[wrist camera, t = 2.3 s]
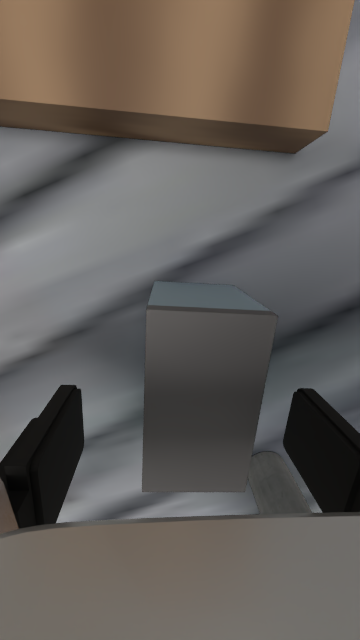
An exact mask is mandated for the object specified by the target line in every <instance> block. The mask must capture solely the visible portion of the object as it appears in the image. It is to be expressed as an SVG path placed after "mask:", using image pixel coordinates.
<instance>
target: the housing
mask: <svg viewBox="0 0 360 640" xmlns="http://www.w3.org/2000/svg"><path fill="white" fill-rule="evenodd" d="M277 319H278V316H277V315H276V314H275V313H273V312H272V311H270V310H269V309H267V308H266V307H264V306H263V305H261V304H260V303H258V302H257V301H256V300H254V299H253V298H251V297H250V296H248V295H247V294H245V293H244V292H242V291H241V290H239V289H238V288H237V287H235V286H234V285H220V284H202V283H183V282H165V281H155V282H154V285H153V289H152V292H151V295H150V299H149V302H148V306H147V309H146V343H145V385H144V427H143V469H142V492H245V489H246V484H247V479H248V473H249V468H250V463H251V457H252V452H253V447H254V441H255V436H256V431H257V425H258V420H259V415H260V409H261V404H262V399H263V393H264V388H265V383H266V377H267V372H268V367H269V361H270V356H271V351H272V345H273V340H274V335H275V329H276V324H277Z"/></svg>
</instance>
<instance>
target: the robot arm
mask: <svg viewBox="0 0 360 640" xmlns="http://www.w3.org/2000/svg"><path fill="white" fill-rule="evenodd" d="M283 445H284V448H285V450H286V452H287V453H288V455H289V457H290V458H291V460H292V462H293V463H294V465H295V467H296V468H297V470H298V472H299V473H300V475H301V477H302V478H303V480H304V482H305V483H306V485H307V487H308V488H309V490H310V492H311V493H312V495H313V497H314V498H315V500H316V502H317V503H318V505H319V507H320V508H321V510H322V512H323V513H291V514H256V515H224V516H193V517H167V518H141V519H115V520H98V521H80V522H64V523H56V521H57V518H58V516H59V513H60V510H61V508H62V505H63V502H64V499H65V497H66V494H67V491H68V489H69V486H70V483H71V481H72V478H73V475H74V473H75V470H76V467H77V464H78V462H79V459H80V456H81V454H82V451H83V447H84V430H83V413H82V396H81V389H77V387H76V385H61V386H60V387H59V388H58V390H57V391H56V393H55V394H54V395H53V397H52V398H51V400H50V401H49V403H48V404H47V406H46V407H45V408H44V410H43V411H42V413H41V414H40V416H39V417H38V418H34V419H32V420H31V421H30V422H29V424H28V425H27V427H26V428H25V429H24V431H23V432H22V434H21V435H20V436H19V438H18V439H17V440H16V442H15V443H14V445H13V446H12V447H11V449H10V450H9V451H8V453H7V454H6V456H5V457H4V458H3V460H2V461H1V463H0V640H360V433H358V432H357V431H356V430H355V429H354V428H353V427H352V426H351V425H350V424H349V423H348V422H347V421H346V420H345V419H344V418H343V417H342V416H341V415H340V414H339V413H338V412H337V411H336V410H335V409H334V408H333V407H332V406H330V405H329V404H328V403H327V402H326V401H325V400H324V399H323V398H322V397H321V396H320V395H319V394H318V393H317V392H316V391H315V390H314V389H308V388H300V389H298V390H297V392H294V394H293V398H292V403H291V407H290V412H289V416H288V421H287V425H286V430H285V434H284V439H283Z"/></svg>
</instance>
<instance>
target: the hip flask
mask: <svg viewBox="0 0 360 640" xmlns="http://www.w3.org/2000/svg"><path fill="white" fill-rule="evenodd" d="M248 480H249V483H250V486H251V489H252V491H253V494H254V497H255V500H256V503H257V506H258V509H259V512H260V514H291V513H312V512H311V510H310V508H309V506H308V504H307V502H306V501H305V499H304V497H303V495H302V493H301V491H300V489H299V487H298V486H297V484H296V482H295V480H294V478H293V476H292V474H291V473H290V471H289V469H288V467H287V466H286V464H285V463H284V461H283V459H282V458H281V457H280V456H279V455H278V454H276V453H274V452H261V453H258V454H256V455H254V456H252V457H251V463H250V468H249V473H248Z"/></svg>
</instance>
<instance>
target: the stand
mask: <svg viewBox="0 0 360 640" xmlns="http://www.w3.org/2000/svg"><path fill="white" fill-rule="evenodd" d="M353 5H354V0H0V126H3V127H13V128H24V129H35V130H46V131H57V132H68V133H78V134H89V135H100V136H111V137H122V138H133V139H143V140H154V141H165V142H176V143H187V144H198V145H208V146H219V147H230V148H241V149H252V150H263V151H273V152H284V153H296V152H298V151H299V150H301V149H302V148H304V147H305V146H307V145H308V144H310V143H311V142H313V141H314V140H316V139H317V138H319V137H320V136H322V135H323V134H325V133H326V132H328V128H329V123H330V118H331V113H332V108H333V103H334V99H335V94H336V89H337V84H338V79H339V74H340V69H341V64H342V59H343V54H344V49H345V44H346V39H347V35H348V30H349V25H350V20H351V15H352V10H353Z"/></svg>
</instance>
